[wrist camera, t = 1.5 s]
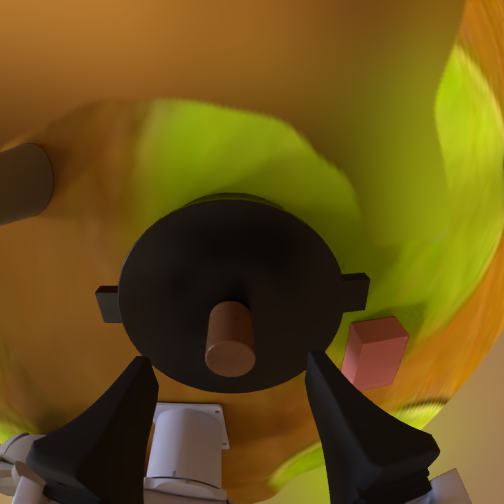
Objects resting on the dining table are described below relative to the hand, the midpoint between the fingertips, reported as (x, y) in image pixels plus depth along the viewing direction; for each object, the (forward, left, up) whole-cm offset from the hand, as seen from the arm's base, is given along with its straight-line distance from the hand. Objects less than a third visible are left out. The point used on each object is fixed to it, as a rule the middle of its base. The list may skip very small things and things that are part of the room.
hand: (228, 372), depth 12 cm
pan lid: (0, 0, -5) cm, 5 cm away
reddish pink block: (-8, -12, -10) cm, 17 cm away
